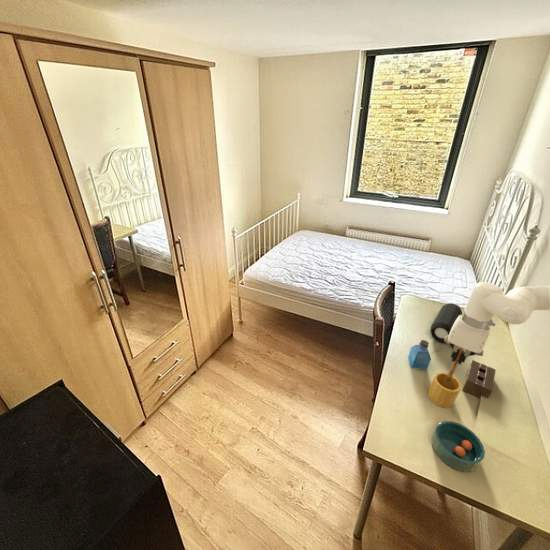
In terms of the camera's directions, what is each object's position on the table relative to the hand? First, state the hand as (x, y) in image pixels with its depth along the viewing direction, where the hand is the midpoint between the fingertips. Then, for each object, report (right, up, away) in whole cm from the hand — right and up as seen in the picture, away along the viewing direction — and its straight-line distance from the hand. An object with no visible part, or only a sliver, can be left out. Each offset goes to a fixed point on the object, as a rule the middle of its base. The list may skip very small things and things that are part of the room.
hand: (456, 360), depth 102 cm
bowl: (-6, -27, -8) cm, 28 cm away
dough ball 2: (-2, -25, -9) cm, 26 cm away
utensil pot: (0, -17, +9) cm, 20 cm away
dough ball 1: (-6, -26, -10) cm, 28 cm away
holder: (+17, -14, +15) cm, 27 cm away
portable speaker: (+22, +2, +46) cm, 51 cm away
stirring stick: (0, -9, +6) cm, 11 cm away
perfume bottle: (-2, -9, +25) cm, 26 cm away
